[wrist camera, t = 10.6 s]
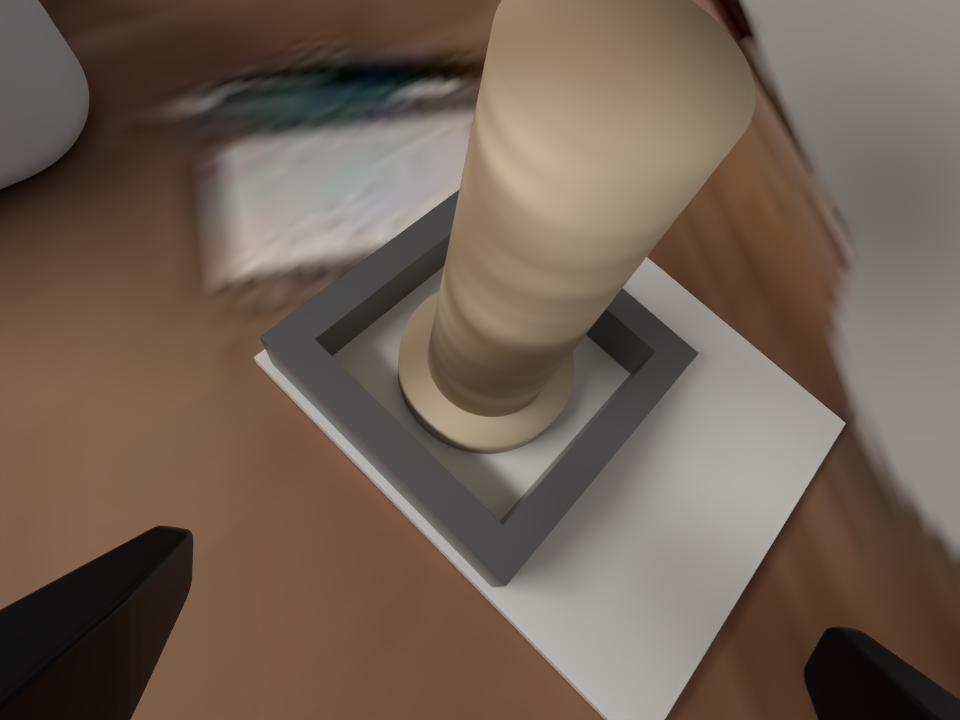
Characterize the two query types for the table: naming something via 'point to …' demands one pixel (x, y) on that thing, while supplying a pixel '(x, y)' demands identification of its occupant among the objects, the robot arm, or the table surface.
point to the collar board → (577, 467)
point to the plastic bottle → (36, 92)
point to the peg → (564, 200)
